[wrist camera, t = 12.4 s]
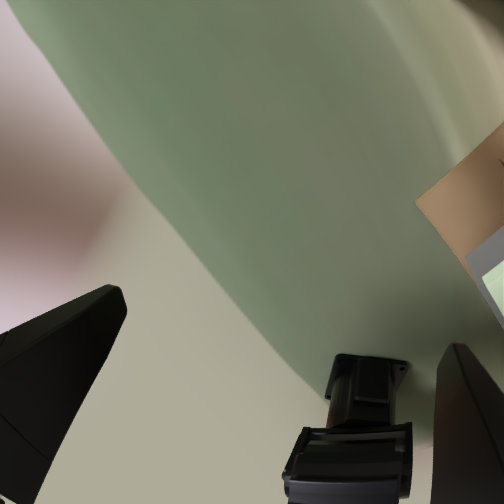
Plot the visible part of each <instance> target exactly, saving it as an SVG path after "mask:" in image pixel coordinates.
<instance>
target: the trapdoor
mask: <svg viewBox="0 0 504 504" xmlns="http://www.w3.org/2000/svg"><path fill="white" fill-rule="evenodd" d="M465 260H466V262H467V264H468V266H469V268H470V270H471V273H472V275H473V277H474V279H475V282H476V284H477V286H478V288H479V290H480V292H481V293H482V295H483V296H484V298H485V299H486V301H487V303H488V304H489V306H490V308H491V309H492V311H493V313H494V314H495V316H496V318H497V319H498V321H499V323H500V324H501V326H502V328H503V330H504V226H502V227H501V228H500V229H499V230H498V231H496V232H495V233H494V234H493V235H492V236H490V237H489V238H488V239H487V240H485V241H484V242H483V243H482V244H480V245H479V246H478V247H477V248H475V249H474V250H473V251H471V252H470V253H469V254H468V255H466V256H465Z"/></svg>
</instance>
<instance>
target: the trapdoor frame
mask: <svg viewBox="0 0 504 504" xmlns="http://www.w3.org/2000/svg"><path fill="white" fill-rule="evenodd" d="M415 202H416V204H417V206H418V207H419V208H420V209H421V211H422V212H423V213H424V214H425V216H426V217H427V218H428V219H429V221H430V222H431V223H432V224H433V226H434V227H435V228H436V230H437V231H438V232H439V234H440V235H441V236H442V237H443V239H444V240H445V241H446V243H447V244H448V246H449V247H450V248H451V250H452V251H453V252H454V254H455V255H456V257H457V258H458V259H459V261H460V262H461V264H462V265H463V266H464V268H465V269H466V271H467V272H468V274H469V275H470V277H471V278H472V280H473V281H474V283H475V284H476V282H475V279H474V277H473V275H472V273H471V270H470V268H469V266H468V264H467V262H466V260H465V256H466V255H468V254H469V253H470V252H471V251H473V250H474V249H475V248H477V247H478V246H479V245H480V244H482V243H483V242H484V241H485V240H487V239H488V238H489V237H490V236H492V235H493V234H494V233H495V232H496V231H498V230H499V229H500V228H501V227H502V226H504V122H503V123H502V124H501V125H500V126H499V127H498V128H497V129H496V130H495V131H494V132H493V133H492V134H491V135H490V136H488V137H487V138H486V139H485V140H484V141H483V142H482V143H481V144H480V145H479V146H478V147H477V148H475V149H474V150H473V151H472V152H471V153H470V154H469V155H468V156H467V157H466V158H464V159H463V160H462V161H461V162H460V163H459V164H458V165H457V166H455V167H454V168H453V169H452V170H451V171H450V172H449V173H447V174H446V175H445V176H444V177H443V178H442V179H441V180H439V181H438V182H437V183H436V184H435V185H434V186H432V187H431V188H430V189H429V190H428V191H427V192H425V193H424V194H423V195H422V196H421V197H420V198H418V199H417V200H416V201H415ZM476 286H477V284H476ZM477 287H478V286H477ZM478 289H479V288H478ZM481 294H482V293H481ZM483 297H484V296H483ZM485 300H486V299H485ZM488 305H489V304H488ZM491 310H492V309H491ZM494 315H495V314H494ZM497 320H498V319H497ZM500 325H501V324H500ZM501 327H502V326H501Z"/></svg>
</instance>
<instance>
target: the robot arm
mask: <svg viewBox="0 0 504 504" xmlns="http://www.w3.org/2000/svg"><path fill="white" fill-rule="evenodd" d="M126 315H127V306H126V303H125V300H124V297H123V293H122V290H121V289H120V287H118V286H114V285H110V284H107V285H104V286H102V287H100V288H98V289H95V290H93V291H91V292H89V293H87V294H85V295H82V296H80V297H78V298H76V299H74V300H72V301H69V302H67V303H65V304H63V305H61V306H59V307H57V308H55V309H52V310H50V311H48V312H46V313H44V314H42V315H40V316H37V317H35V318H33V319H31V320H29V321H27V322H25V323H23V324H21V325H19V326H17V327H15V328H12V329H10V330H9V331H6V332H4V333H2V334H0V504H5V502H4V501H3V500H2V499H1V496H4V497H6V498H7V499H9V500H11V501H13V502H15V503H16V504H34V502H35V500H36V497H37V495H38V493H39V491H40V488H41V486H42V484H43V482H44V479H45V477H46V475H47V473H48V471H49V469H50V467H51V464H52V462H53V460H54V458H55V456H56V453H57V452H58V450H59V448H60V445H61V443H62V441H63V439H64V437H65V435H66V433H67V431H68V430H69V428H70V425H71V424H72V422H73V419H74V418H75V416H76V414H77V412H78V410H79V408H80V406H81V404H82V403H83V401H84V399H85V397H86V395H87V393H88V391H89V390H90V388H91V386H92V384H93V382H94V380H95V379H96V377H97V375H98V373H99V372H100V370H101V368H102V366H103V364H104V362H105V361H106V359H107V357H108V355H109V353H110V351H111V348H112V346H113V344H114V342H115V339H116V337H117V335H118V333H119V330H120V328H121V326H122V324H123V322H124V320H125V318H126ZM407 370H408V364H407V363H406V362H402V361H392V360H383V359H375V358H366V357H358V356H351V355H343V354H338V355H336V356H335V359H334V362H333V366H332V370H331V374H330V378H329V381H328V385H327V388H326V392H325V398H326V399H328V400H331V401H330V407H329V413H328V418H327V425H326V428H310V427H303V429H302V432H301V434H300V435H299V437H298V439H297V441H296V444H295V446H294V448H293V451H292V453H291V455H290V458H289V460H288V462H287V464H286V466H285V470H284V471H283V473H282V479H283V480H284V490H285V494H286V496H287V497H288V498H289V499H288V504H398V503H399V499H406V498H409V495H410V489H411V480H412V466H413V436H412V422H407V423H405V424H398V425H395V393H396V391H397V389H398V387H399V385H400V383H401V381H402V379H403V377H404V376H405V374H406V372H407ZM430 504H504V393H503V392H502V390H501V389H500V388H499V386H498V385H497V384H496V382H495V381H494V380H493V378H492V377H491V376H490V374H489V373H488V372H487V370H486V369H485V368H484V366H483V365H482V364H481V362H480V361H479V360H478V359H477V357H476V356H475V355H474V353H473V352H472V351H471V350H470V348H469V347H468V346H467V345H466V344H465V343H457V342H452V343H451V344H449V346H448V348H447V350H446V351H445V353H444V355H443V357H442V359H441V361H440V362H439V365H438V368H437V383H436V400H435V412H434V444H433V474H432V489H431V501H430Z"/></svg>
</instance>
